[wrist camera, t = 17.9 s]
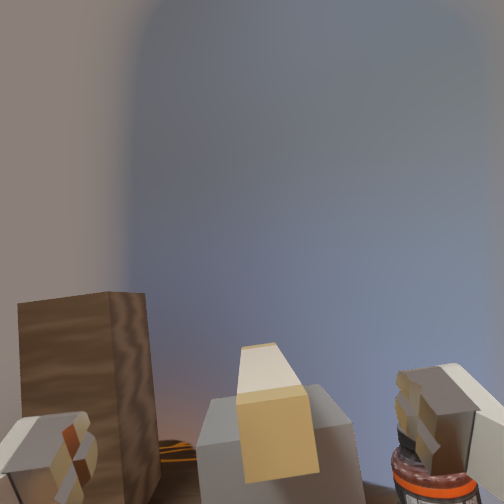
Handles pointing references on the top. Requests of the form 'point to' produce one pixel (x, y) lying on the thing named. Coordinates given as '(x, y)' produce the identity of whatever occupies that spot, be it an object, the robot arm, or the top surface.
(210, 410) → the grey block
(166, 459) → the top surface
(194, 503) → the top surface
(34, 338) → the walnut post
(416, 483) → the supplement bottle
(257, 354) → the cream tan bar
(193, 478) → the top surface
